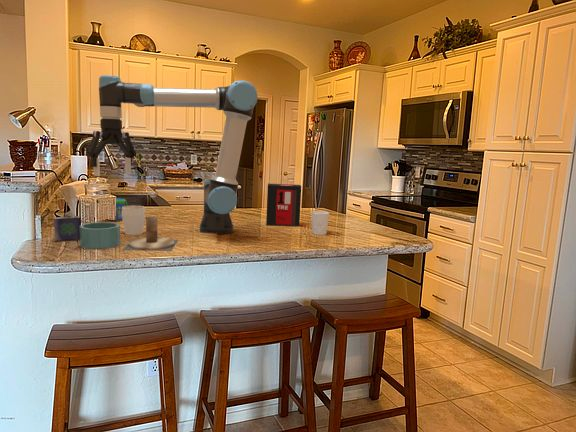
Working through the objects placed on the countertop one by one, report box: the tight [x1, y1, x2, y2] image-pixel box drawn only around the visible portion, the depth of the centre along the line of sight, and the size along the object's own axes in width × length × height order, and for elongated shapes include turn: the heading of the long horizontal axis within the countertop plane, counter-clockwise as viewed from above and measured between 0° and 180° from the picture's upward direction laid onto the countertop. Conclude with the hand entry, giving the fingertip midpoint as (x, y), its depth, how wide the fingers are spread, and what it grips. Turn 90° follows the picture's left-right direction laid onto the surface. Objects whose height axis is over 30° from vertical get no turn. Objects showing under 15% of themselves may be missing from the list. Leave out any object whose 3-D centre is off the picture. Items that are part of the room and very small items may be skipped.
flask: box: [53, 212, 82, 242], centre depth 163 cm, size 9×3×11 cm, turn 121°
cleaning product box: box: [265, 183, 302, 228], centre depth 214 cm, size 16×9×20 cm, turn 92°
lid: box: [128, 216, 175, 251], centre depth 157 cm, size 16×16×10 cm
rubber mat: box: [122, 239, 179, 252], centre depth 158 cm, size 17×17×1 cm
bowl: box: [79, 221, 121, 250], centre depth 155 cm, size 13×13×8 cm
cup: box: [122, 204, 146, 236], centre depth 175 cm, size 9×9×12 cm
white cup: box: [311, 210, 330, 236], centre depth 196 cm, size 8×8×10 cm
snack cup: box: [115, 197, 129, 222], centre depth 205 cm, size 16×10×10 cm
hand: (113, 175), depth 164 cm, fingers open, 13 cm apart
